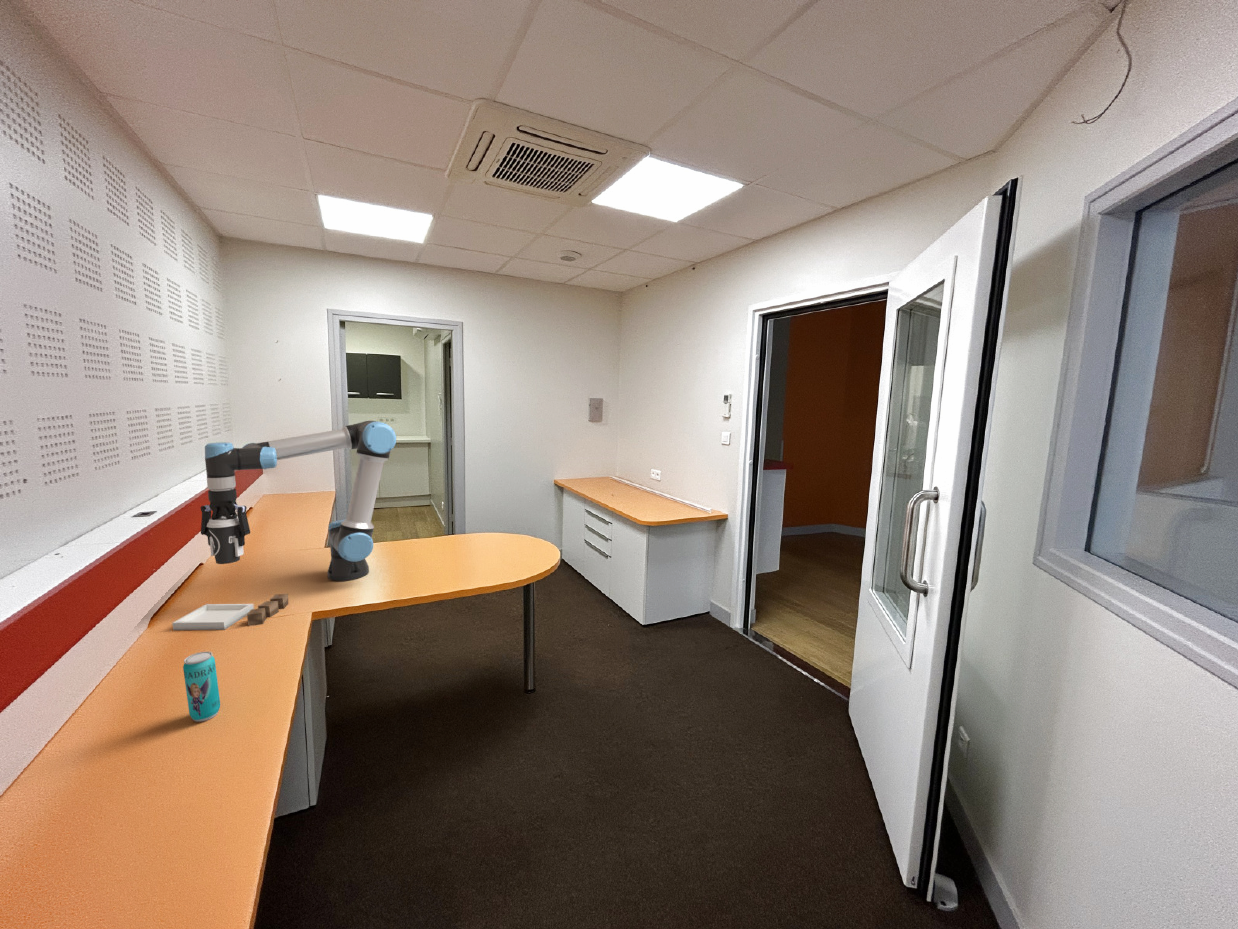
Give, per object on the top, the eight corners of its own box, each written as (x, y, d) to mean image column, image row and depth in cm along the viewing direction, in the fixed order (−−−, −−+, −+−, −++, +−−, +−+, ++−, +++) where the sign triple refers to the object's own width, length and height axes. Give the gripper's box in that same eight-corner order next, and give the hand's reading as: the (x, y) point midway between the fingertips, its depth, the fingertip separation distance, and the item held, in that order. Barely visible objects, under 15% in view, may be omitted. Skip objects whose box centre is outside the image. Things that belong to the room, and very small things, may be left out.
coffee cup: (225, 566, 170) (221, 522, 168) (202, 564, 172) (198, 520, 170) (252, 557, 179) (248, 515, 177) (230, 555, 181) (226, 513, 179)
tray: (253, 610, 179) (253, 603, 178) (224, 629, 165) (223, 622, 164) (206, 611, 178) (205, 604, 178) (173, 630, 164) (172, 622, 164)
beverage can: (186, 726, 118) (178, 665, 116) (195, 712, 124) (187, 653, 121) (217, 720, 121) (209, 660, 118) (224, 706, 126) (217, 648, 123)
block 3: (288, 604, 184) (287, 593, 183) (283, 609, 180) (282, 598, 180) (276, 605, 183) (275, 594, 183) (271, 610, 179) (269, 599, 179)
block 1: (266, 619, 172) (264, 607, 172) (262, 624, 169) (261, 612, 168) (251, 621, 171) (250, 609, 170) (248, 626, 167) (247, 614, 167)
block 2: (278, 612, 178) (277, 601, 177) (270, 617, 174) (269, 606, 173) (267, 611, 178) (266, 601, 177) (259, 617, 174) (257, 605, 173)
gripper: (260, 487, 176) (265, 552, 179) (200, 486, 176) (206, 551, 179) (244, 491, 168) (249, 559, 172) (182, 490, 168) (188, 557, 171)
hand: (227, 555), depth 175 cm, fingers closed on coffee cup, 8 cm apart
